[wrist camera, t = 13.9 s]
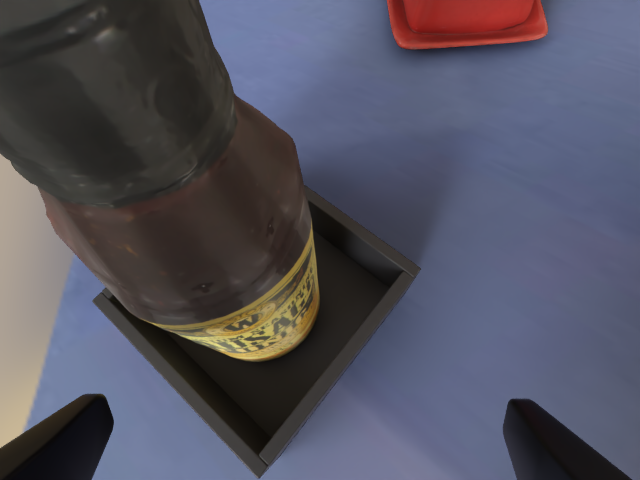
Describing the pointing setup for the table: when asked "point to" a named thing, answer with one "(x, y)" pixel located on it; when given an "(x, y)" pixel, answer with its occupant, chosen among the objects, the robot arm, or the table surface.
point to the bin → (296, 366)
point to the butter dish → (465, 22)
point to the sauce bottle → (160, 170)
